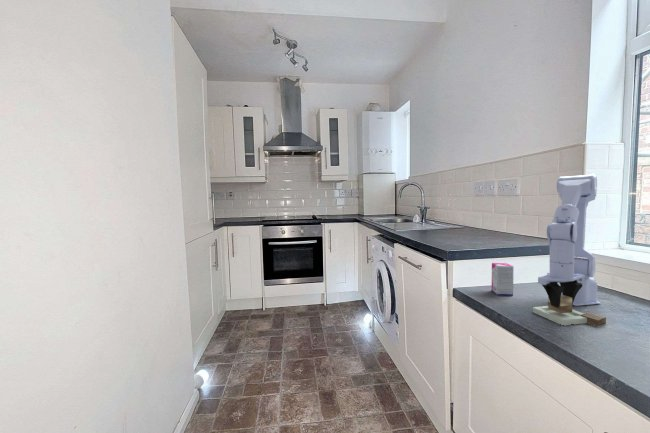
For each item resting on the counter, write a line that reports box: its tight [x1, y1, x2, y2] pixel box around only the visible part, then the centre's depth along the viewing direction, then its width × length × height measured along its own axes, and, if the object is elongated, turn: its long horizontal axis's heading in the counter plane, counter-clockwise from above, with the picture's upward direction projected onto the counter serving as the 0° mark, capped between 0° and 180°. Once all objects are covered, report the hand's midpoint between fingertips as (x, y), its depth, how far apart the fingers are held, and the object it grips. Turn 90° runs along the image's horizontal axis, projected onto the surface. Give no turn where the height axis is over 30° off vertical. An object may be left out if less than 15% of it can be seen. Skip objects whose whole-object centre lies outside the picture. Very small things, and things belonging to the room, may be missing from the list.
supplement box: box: [491, 262, 514, 297], centre depth 107 cm, size 6×6×12 cm
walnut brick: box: [581, 311, 607, 327], centre depth 80 cm, size 4×4×2 cm
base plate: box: [532, 305, 588, 326], centre depth 85 cm, size 10×10×2 cm
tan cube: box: [547, 294, 573, 313], centre depth 85 cm, size 4×4×4 cm
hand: (561, 305), depth 85 cm, fingers closed on tan cube, 4 cm apart
